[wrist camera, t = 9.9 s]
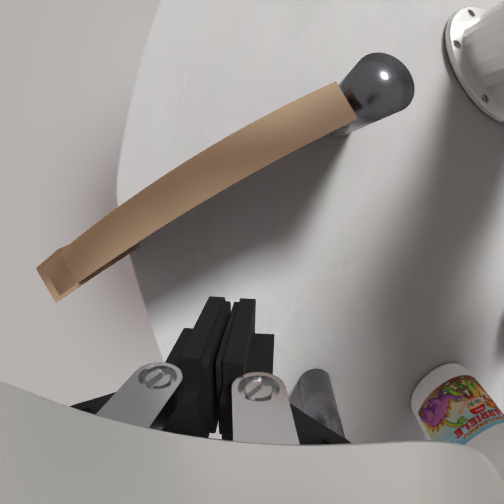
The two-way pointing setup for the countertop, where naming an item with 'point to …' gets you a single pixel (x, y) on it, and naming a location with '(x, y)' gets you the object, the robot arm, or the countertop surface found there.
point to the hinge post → (376, 90)
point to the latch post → (320, 399)
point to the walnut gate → (195, 185)
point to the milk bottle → (459, 412)
